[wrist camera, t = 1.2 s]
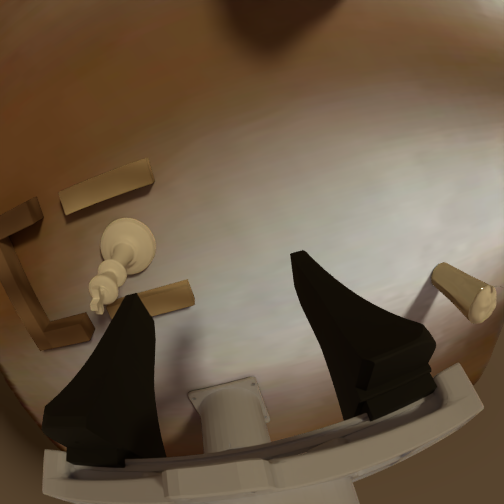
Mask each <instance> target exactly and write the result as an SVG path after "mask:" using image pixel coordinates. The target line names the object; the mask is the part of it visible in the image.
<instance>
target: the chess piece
mask: <svg viewBox="0 0 504 504" xmlns="http://www.w3.org/2000/svg"><path fill="white" fill-rule="evenodd" d="M100 248H101V253H102V256H103V258H104V260H105V261H103V262H102V263H101V264H100V266H99V268H98V275H97V276H95V277H93V278H92V279H91V281H90V283H89V293H90V295H91V297H92V298H93V299H92V301H91V303H90V307H91V311H95V312H96V314H103V312H104V306H103V304H111V303H113V302H114V301H115V300H116V299H117V297H118V287H120V286H122V285H123V284H124V283H125V281H126V278H127V274H136V273H139V272H141V271H143V270H144V269H146V268H147V267H148V266H149V264H150V263H151V262H152V260H153V258H154V255H155V251H156V243H155V239H154V236H153V234H152V232H151V231H150V229H149V228H148V227H147V226H146V225H145V224H143V223H142V222H140V221H138V220H136V219H132V218H121V219H118V220H115V221H113V222H112V223H111V224H109V225H108V226H107V228H106V229H105V231H104V233H103V235H102V238H101V243H100Z"/></svg>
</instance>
